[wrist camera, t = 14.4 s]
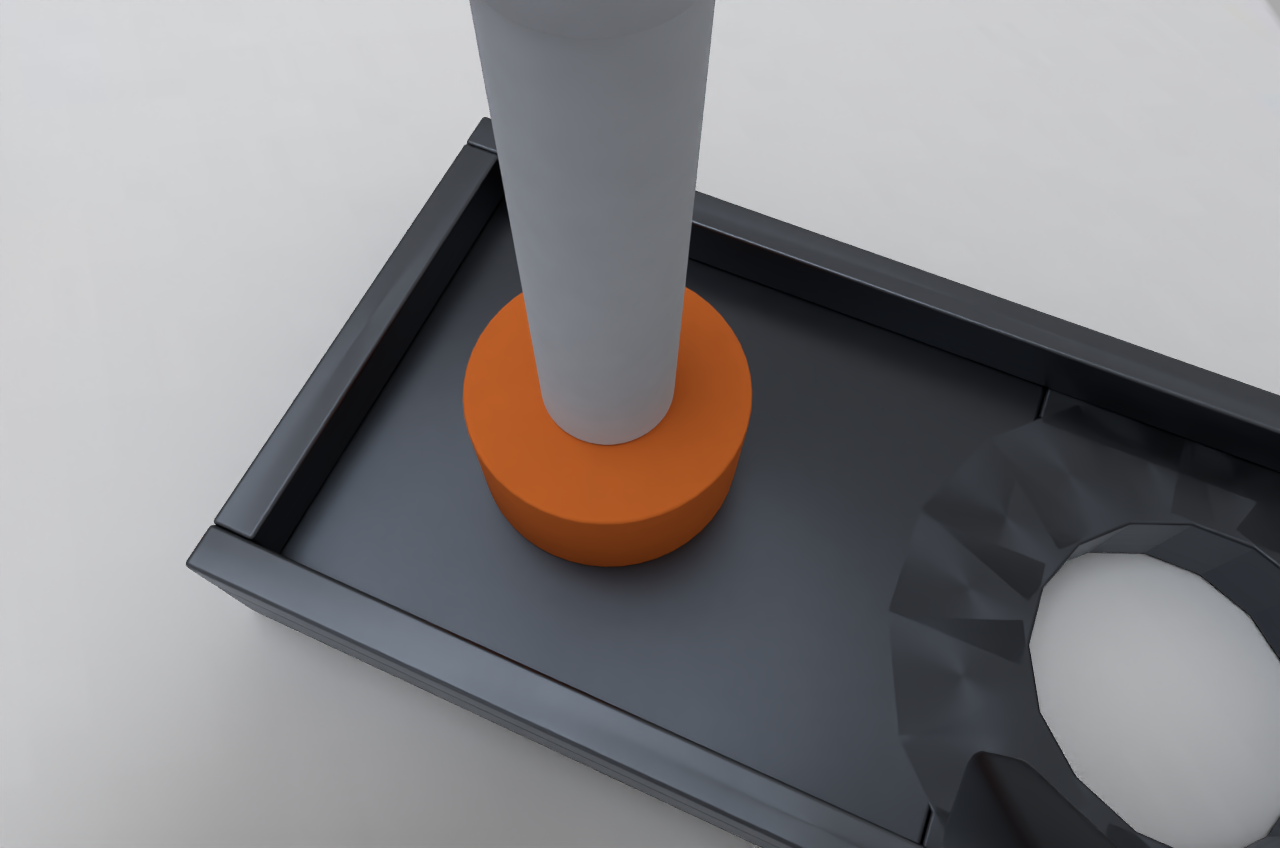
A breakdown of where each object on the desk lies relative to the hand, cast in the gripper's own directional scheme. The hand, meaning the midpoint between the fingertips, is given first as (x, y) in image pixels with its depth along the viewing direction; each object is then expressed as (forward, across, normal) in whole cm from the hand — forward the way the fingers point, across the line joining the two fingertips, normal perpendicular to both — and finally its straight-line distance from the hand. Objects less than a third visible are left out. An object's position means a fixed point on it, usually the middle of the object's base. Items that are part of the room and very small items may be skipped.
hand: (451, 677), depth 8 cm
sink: (+10, -5, +3) cm, 12 cm away
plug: (+9, 0, +1) cm, 9 cm away
